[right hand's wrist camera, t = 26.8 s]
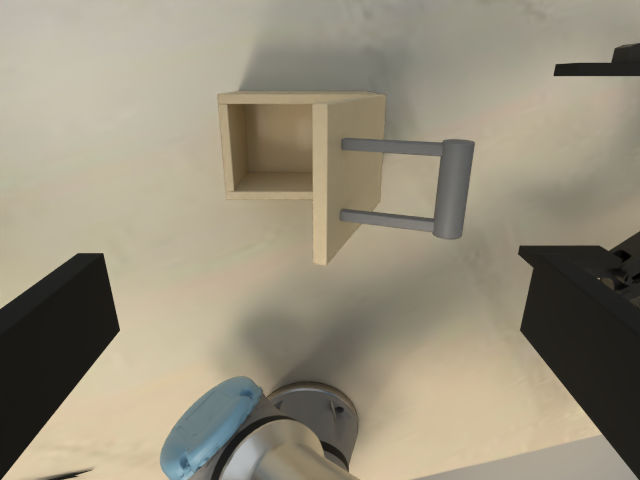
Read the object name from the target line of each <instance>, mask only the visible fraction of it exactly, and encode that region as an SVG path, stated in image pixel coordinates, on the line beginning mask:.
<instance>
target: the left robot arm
mask: <svg viewBox="0 0 640 480" xmlns="http://www.w3.org/2000/svg"><path fill="white" fill-rule="evenodd" d="M554 76H640V43H637V44H628V45H622V46H620V47H617V48H615V50H614V54H613V58H612V62H611V63H569V64H556V66H555V71H554ZM537 253H562V254H564V255H565V256H567V257H568V258H569V259H571V260H572V261H573V262H575V263H576V264H578V265H579V266H580V267H582V268H583V269H585V270H586V271H587V272H589V273H590V274H591V275H593V276H594V277H596V278H600V281H601V282H603V283H604V284H605V285H607V286H608V287H610V288H611V289H612V290H614V291H615V292H616V293H618V294H619V295H621V296H622V297H623V298H625V299H626V300H630V299H633V298H635V297H638V296H640V232H638V233H636V234H635V235H633V236H632V237H630V238H629V239H627V240H625V241H624V242H622V243H621V244H619V245H618V246H616V247H614V248H613V249H611V250H610V251H607V250H606V249H604V248H602V247H601V246H520V247H519V252H518V254H519V255H520V256H521V257H522V258H523V259H524V260H525V261H526V262H528V263H529V264H530V265H531V266H532V267H533V268H534V264H535V259H536V255H537ZM357 434H358V423H357V415H356V411H355V408H354V406H353V404H352V403H351V401H350V400H349V399H348V398H347V397H346V396H345V395H344V394H343V393H341V392H340V391H338V390H337V389H335V388H333V387H331V386H328V385H325V384H321V383H315V382H299V383H293V384H290V385H286V386H284V387H282V388H280V389H278V390H276V391H275V392H273V393H272V394H271V395H270V396H268V398H266V396H265V395H264V394H263V390H262V388H261V387H258V386H257V385H256V384H255V383H254V382H253V381H252V380H251V379H250V378H248V377H243V376H240V377H234V378H231V379H228V380H226V381H224V382H222V383H220V384H219V385H217V386H215V387H214V388H212V389H211V390H209V391H208V392H207V393H205V394H204V395H203V396H202V397H201V398H199V399H198V400H197V401H196V402H195V403H194V404H193V405H192V406H191V407H190V408H189V409H188V410H187V411H186V412H185V413H184V414H183V416H182V417H181V418H180V419H179V421H178V422H177V423H176V424H175V426H174V427H173V429H172V430H171V432H170V434H169V435H168V437H167V439H166V441H165V443H164V445H163V448H162V451H161V455H160V465H161V468H162V470H163V472H164V473H165V474H166V476H167V477H168V478H169V479H170V480H360V479H358V478H357V477H355V476H353V475H352V474H350V473H349V463H350V459H351V456H352V452H353V449H354V445H355V442H356V438H357Z"/></svg>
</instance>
